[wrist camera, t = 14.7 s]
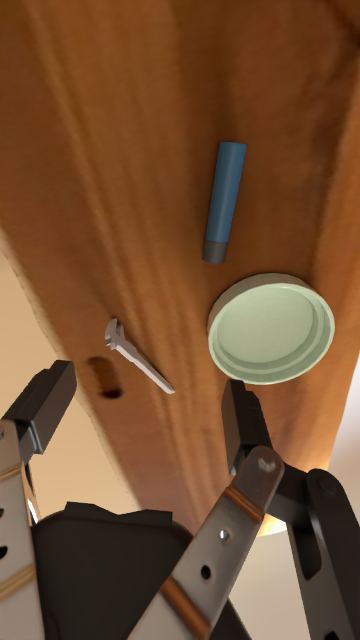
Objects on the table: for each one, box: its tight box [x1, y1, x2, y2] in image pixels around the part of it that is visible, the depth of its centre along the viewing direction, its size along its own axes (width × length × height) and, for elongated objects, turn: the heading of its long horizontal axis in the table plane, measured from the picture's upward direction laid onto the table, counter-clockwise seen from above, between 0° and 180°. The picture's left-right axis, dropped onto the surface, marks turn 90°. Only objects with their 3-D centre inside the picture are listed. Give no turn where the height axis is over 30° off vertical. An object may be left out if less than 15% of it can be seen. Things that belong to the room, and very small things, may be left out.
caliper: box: [105, 318, 175, 394], centre depth 46 cm, size 20×1×6 cm, turn 30°
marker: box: [202, 142, 247, 264], centre depth 33 cm, size 14×3×3 cm, turn 174°
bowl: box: [207, 273, 335, 385], centre depth 42 cm, size 19×19×4 cm
